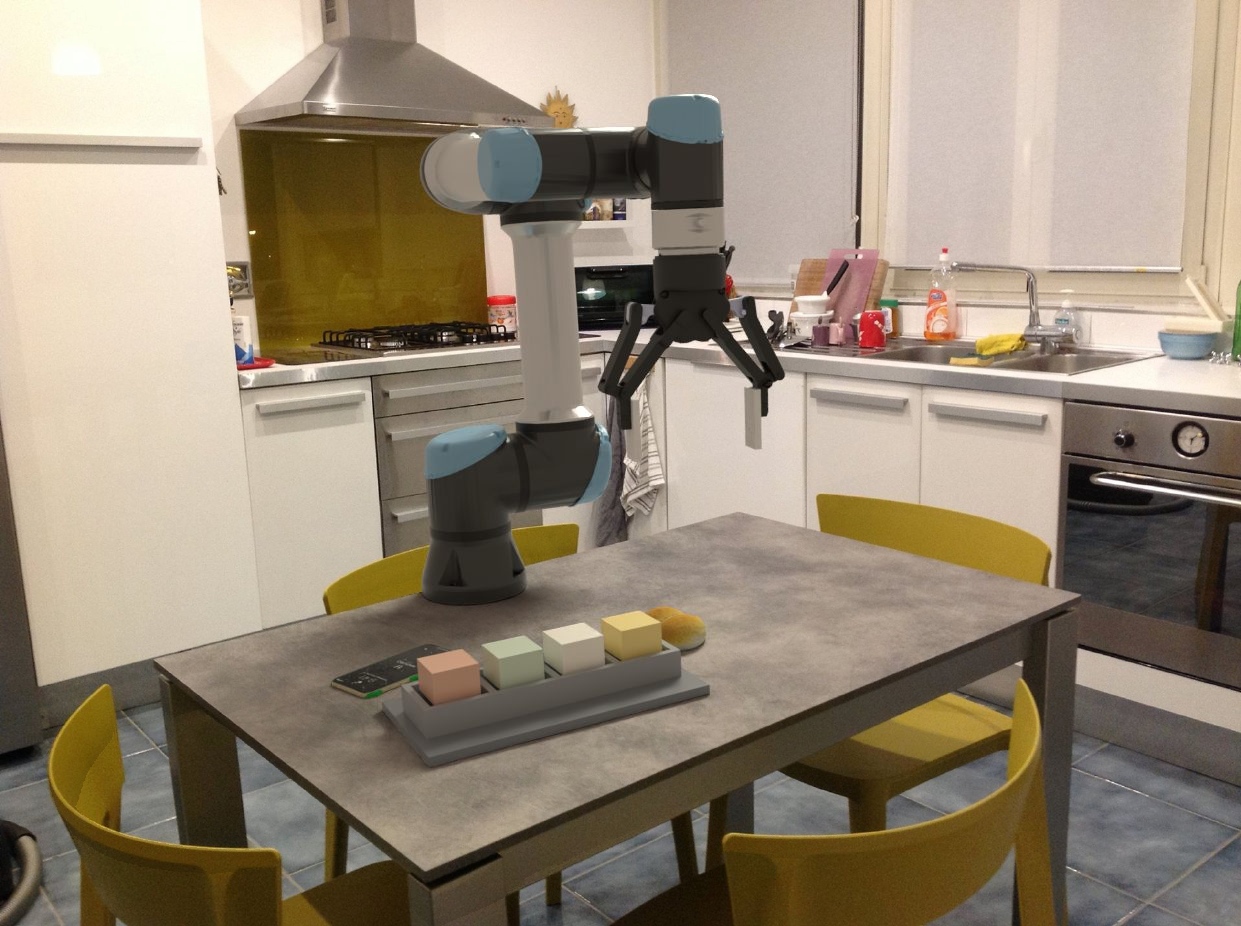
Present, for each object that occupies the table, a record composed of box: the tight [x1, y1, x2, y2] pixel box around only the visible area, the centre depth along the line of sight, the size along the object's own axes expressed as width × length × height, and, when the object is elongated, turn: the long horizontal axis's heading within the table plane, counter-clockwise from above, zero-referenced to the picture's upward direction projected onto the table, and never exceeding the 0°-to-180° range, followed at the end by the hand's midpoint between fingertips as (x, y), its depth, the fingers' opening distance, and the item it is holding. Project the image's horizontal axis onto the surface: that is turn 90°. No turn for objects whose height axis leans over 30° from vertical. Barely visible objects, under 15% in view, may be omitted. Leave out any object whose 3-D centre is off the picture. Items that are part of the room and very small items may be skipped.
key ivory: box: [542, 622, 605, 675], centre depth 124 cm, size 5×5×4 cm
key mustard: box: [600, 610, 662, 661], centre depth 127 cm, size 5×5×4 cm
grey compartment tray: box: [381, 640, 711, 768], centre depth 123 cm, size 16×32×4 cm, turn 118°
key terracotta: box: [417, 648, 481, 706], centre depth 117 cm, size 5×5×4 cm
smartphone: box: [330, 643, 453, 699], centre depth 134 cm, size 8×1×15 cm
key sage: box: [481, 634, 545, 690], centre depth 121 cm, size 5×5×4 cm
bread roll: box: [644, 605, 707, 651], centre depth 140 cm, size 8×9×4 cm
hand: (694, 453), depth 121 cm, fingers open, 13 cm apart
